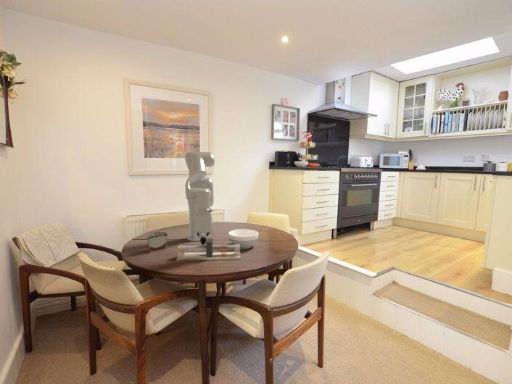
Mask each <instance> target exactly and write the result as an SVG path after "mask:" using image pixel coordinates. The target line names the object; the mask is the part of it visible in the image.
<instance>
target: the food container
mask: <svg viewBox="0 0 512 384" xmlns="http://www.w3.org/2000/svg"><path fill="white" fill-rule="evenodd" d="M167 237H168V232H166V231H158V232H150V233H148V234H147V236H146V240H147V245H148V251H149V253H150V254H151V253H155V252H159V251H163V250H166V249H167V240H168V238H167Z"/></svg>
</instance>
